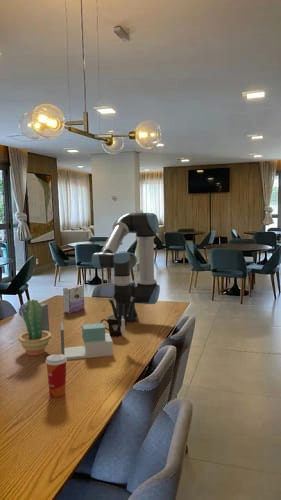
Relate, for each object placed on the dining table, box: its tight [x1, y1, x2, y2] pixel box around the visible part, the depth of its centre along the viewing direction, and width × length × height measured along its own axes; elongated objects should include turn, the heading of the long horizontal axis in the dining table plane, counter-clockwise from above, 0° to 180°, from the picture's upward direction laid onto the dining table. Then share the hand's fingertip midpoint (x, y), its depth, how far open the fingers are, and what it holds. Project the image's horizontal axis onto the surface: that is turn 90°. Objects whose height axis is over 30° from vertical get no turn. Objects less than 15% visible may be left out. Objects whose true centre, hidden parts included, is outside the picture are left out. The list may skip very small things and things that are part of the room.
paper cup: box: [45, 353, 68, 398], centre depth 140 cm, size 8×8×14 cm
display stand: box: [59, 321, 114, 361], centre depth 179 cm, size 23×12×14 cm, turn 104°
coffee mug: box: [100, 314, 124, 338], centre depth 204 cm, size 12×9×10 cm
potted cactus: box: [17, 299, 52, 356], centre depth 180 cm, size 15×15×25 cm
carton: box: [81, 322, 106, 342], centre depth 179 cm, size 10×7×6 cm
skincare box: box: [40, 303, 50, 332], centre depth 207 cm, size 8×7×16 cm
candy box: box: [62, 284, 85, 315], centre depth 252 cm, size 14×6×16 cm, turn 144°
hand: (122, 332), depth 183 cm, fingers closed
